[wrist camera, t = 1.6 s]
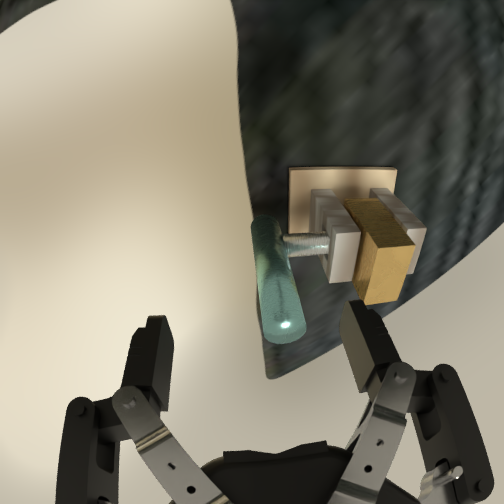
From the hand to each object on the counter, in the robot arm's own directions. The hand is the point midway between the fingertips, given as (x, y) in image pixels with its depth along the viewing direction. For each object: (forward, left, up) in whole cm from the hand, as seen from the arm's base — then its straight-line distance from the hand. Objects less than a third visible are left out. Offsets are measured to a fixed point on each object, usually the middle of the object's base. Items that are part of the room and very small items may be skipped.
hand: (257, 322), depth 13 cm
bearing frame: (+15, +1, -24) cm, 28 cm away
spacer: (+15, +2, -19) cm, 24 cm away
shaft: (+12, -1, -20) cm, 24 cm away
